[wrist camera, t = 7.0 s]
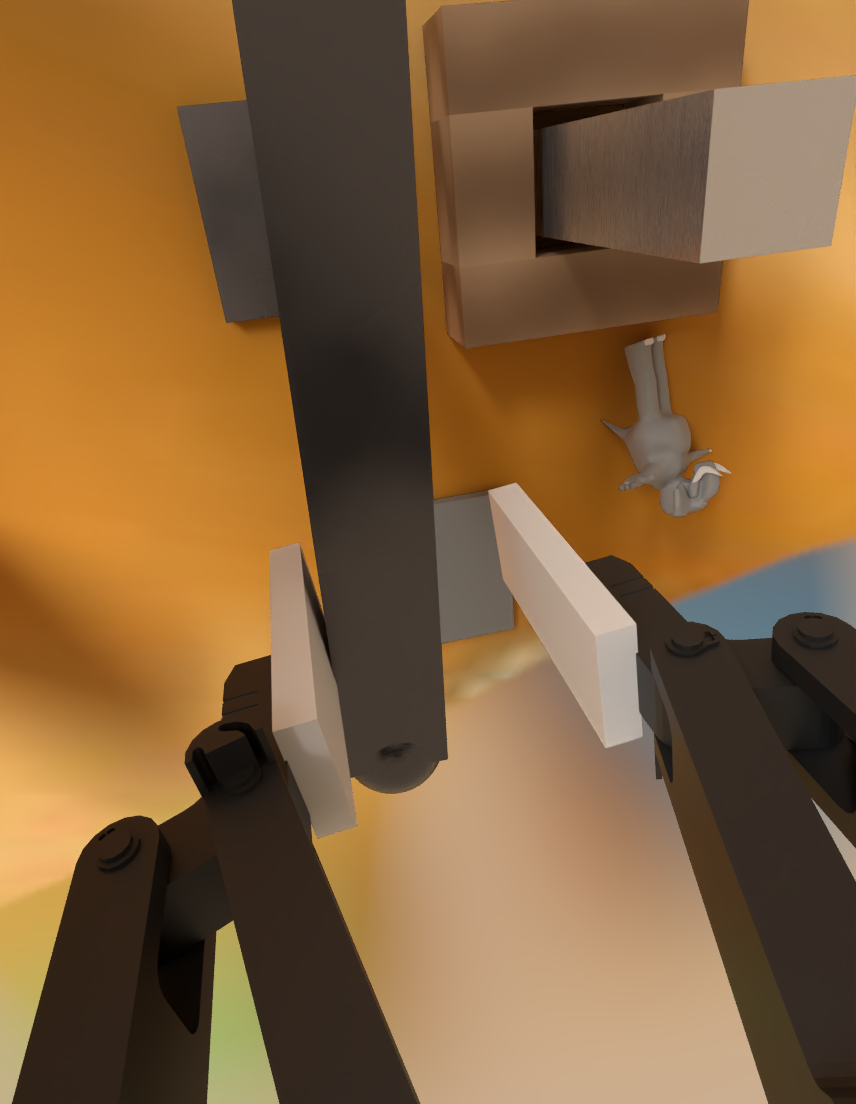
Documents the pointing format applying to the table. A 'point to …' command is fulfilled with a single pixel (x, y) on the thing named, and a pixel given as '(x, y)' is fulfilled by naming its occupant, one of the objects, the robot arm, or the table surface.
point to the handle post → (231, 206)
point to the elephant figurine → (663, 438)
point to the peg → (700, 172)
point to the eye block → (508, 159)
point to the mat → (469, 569)
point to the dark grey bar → (355, 355)
